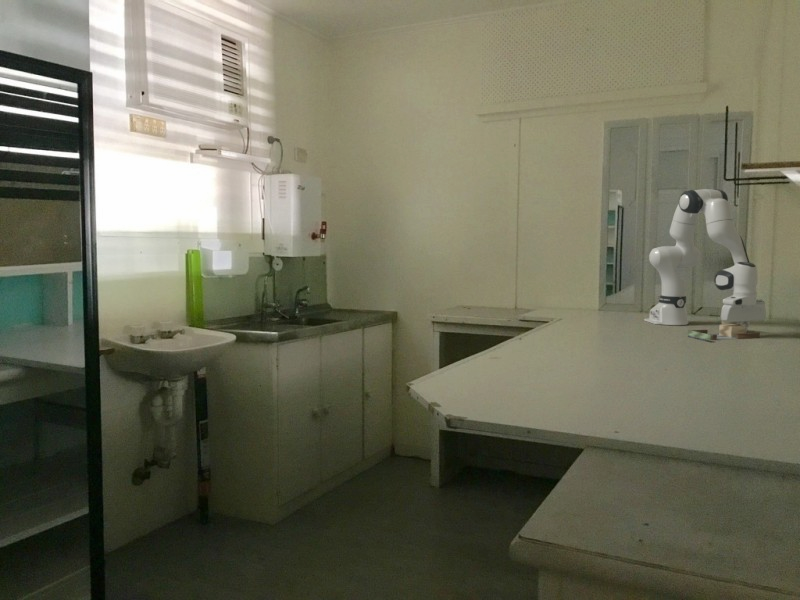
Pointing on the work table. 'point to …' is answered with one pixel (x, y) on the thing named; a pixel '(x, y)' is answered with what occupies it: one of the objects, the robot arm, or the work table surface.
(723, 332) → the beech block
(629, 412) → the work table surface
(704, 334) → the channel
